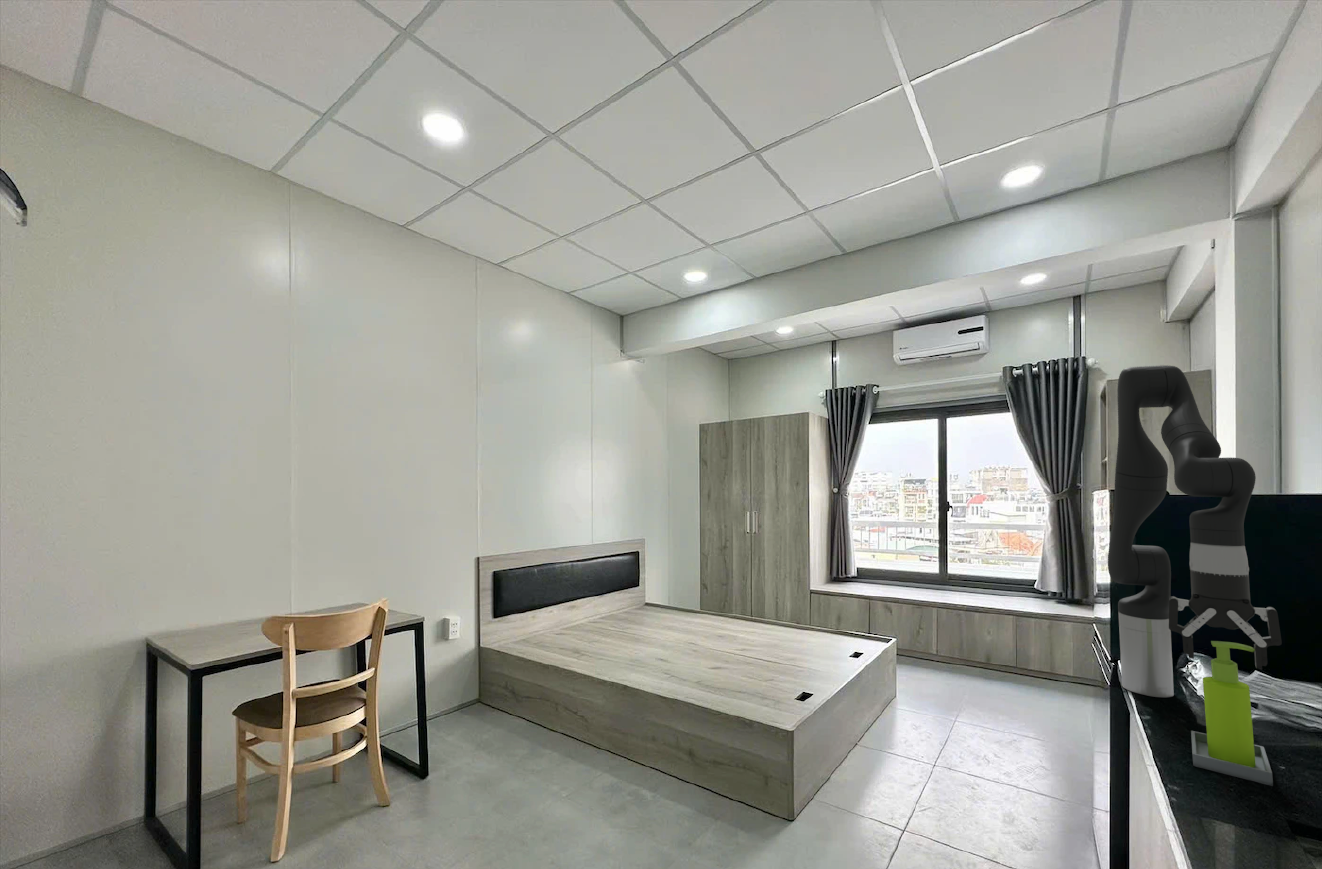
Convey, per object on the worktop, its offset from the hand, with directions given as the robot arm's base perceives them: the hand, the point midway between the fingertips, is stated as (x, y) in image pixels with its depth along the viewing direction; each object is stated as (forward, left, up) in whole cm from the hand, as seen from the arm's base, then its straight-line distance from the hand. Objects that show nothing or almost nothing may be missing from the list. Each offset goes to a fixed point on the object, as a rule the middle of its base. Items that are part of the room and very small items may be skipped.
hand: (1223, 662), depth 102 cm
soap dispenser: (0, +1, -17) cm, 17 cm away
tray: (0, 0, -17) cm, 17 cm away
